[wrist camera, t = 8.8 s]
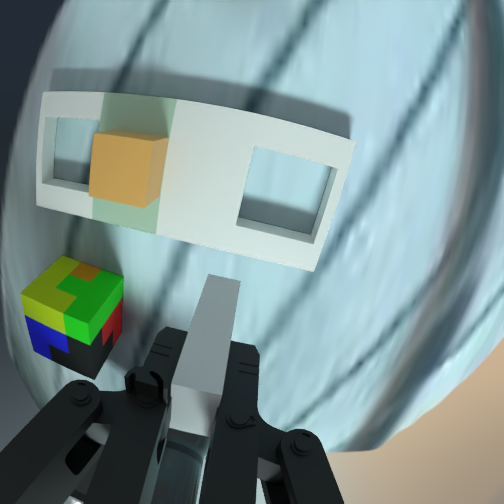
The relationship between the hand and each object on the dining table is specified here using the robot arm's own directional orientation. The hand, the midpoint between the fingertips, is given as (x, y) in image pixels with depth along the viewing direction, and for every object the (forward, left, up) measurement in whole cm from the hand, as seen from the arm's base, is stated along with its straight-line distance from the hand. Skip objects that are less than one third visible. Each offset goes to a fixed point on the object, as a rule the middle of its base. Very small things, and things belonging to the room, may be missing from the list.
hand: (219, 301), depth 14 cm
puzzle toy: (-18, +18, -19) cm, 32 cm away
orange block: (+2, +12, -16) cm, 20 cm away
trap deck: (+2, +8, -19) cm, 21 cm away
